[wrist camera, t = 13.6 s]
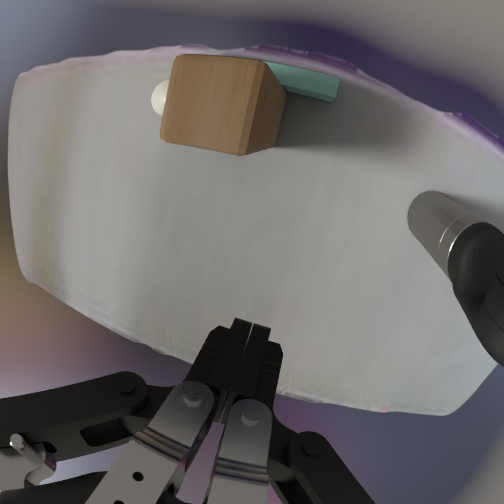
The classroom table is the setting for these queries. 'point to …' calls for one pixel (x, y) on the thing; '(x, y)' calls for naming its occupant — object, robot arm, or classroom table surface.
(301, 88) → the teal block
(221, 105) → the wooden block
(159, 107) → the cream rounded cylinder
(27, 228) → the classroom table surface
